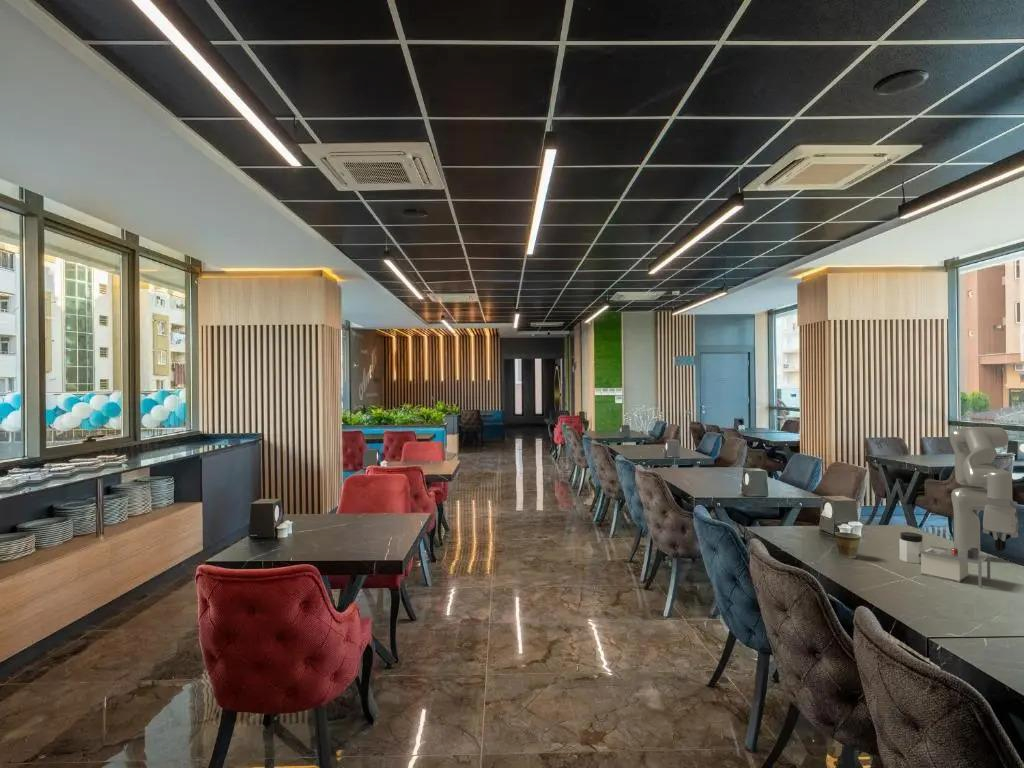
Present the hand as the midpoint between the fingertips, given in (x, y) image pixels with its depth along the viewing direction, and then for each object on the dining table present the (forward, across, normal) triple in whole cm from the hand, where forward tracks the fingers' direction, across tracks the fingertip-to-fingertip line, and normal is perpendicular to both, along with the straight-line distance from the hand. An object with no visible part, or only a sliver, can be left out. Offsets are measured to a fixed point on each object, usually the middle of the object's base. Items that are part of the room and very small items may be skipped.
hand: (1000, 550), depth 227 cm
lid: (+5, +12, 0) cm, 13 cm away
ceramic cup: (+14, +56, -1) cm, 58 cm away
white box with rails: (+14, +16, -1) cm, 21 cm away
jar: (+14, +34, -15) cm, 40 cm away
